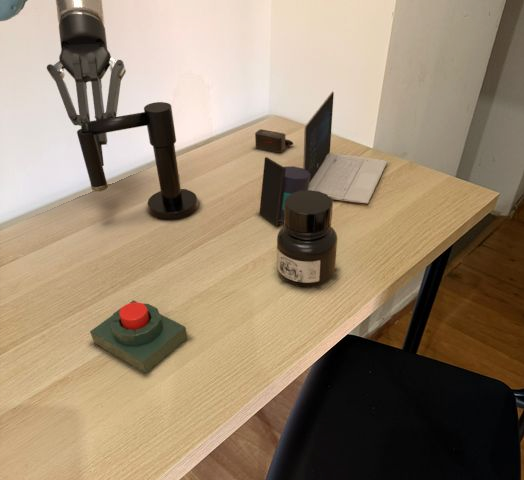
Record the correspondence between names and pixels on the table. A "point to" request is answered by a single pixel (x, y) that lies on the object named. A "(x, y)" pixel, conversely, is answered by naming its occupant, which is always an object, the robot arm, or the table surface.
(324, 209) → the ink bottle
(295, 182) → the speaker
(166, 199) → the round black base
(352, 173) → the laptop
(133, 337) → the control box
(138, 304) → the button
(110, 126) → the crank handle
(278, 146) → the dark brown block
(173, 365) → the table surface
